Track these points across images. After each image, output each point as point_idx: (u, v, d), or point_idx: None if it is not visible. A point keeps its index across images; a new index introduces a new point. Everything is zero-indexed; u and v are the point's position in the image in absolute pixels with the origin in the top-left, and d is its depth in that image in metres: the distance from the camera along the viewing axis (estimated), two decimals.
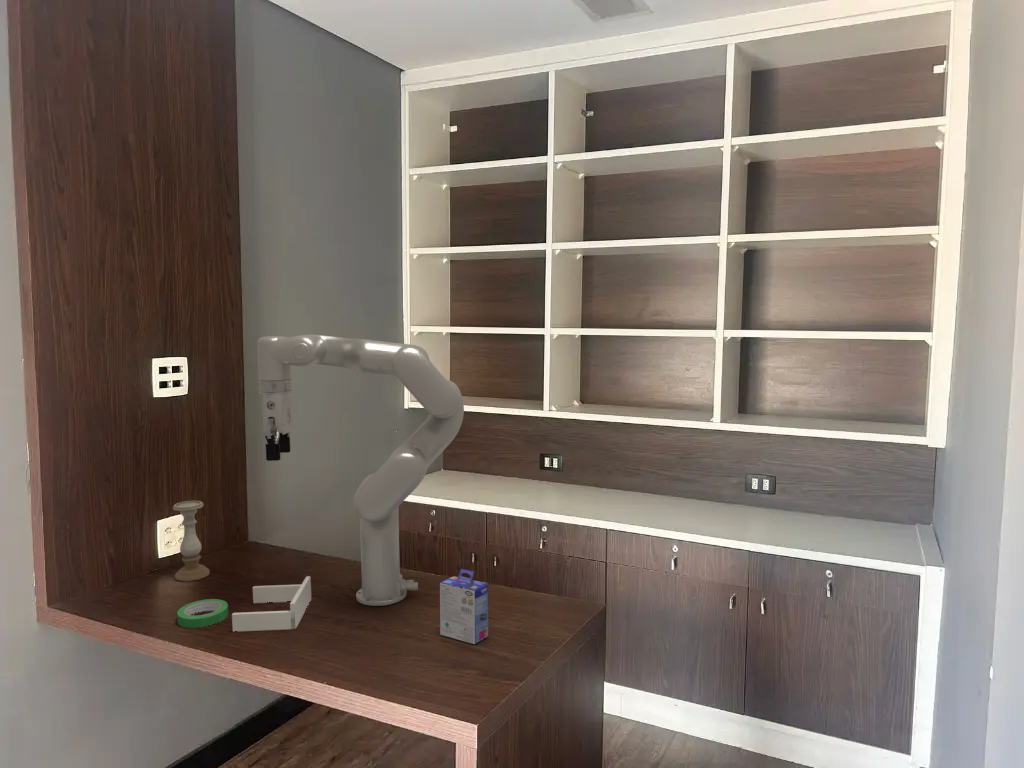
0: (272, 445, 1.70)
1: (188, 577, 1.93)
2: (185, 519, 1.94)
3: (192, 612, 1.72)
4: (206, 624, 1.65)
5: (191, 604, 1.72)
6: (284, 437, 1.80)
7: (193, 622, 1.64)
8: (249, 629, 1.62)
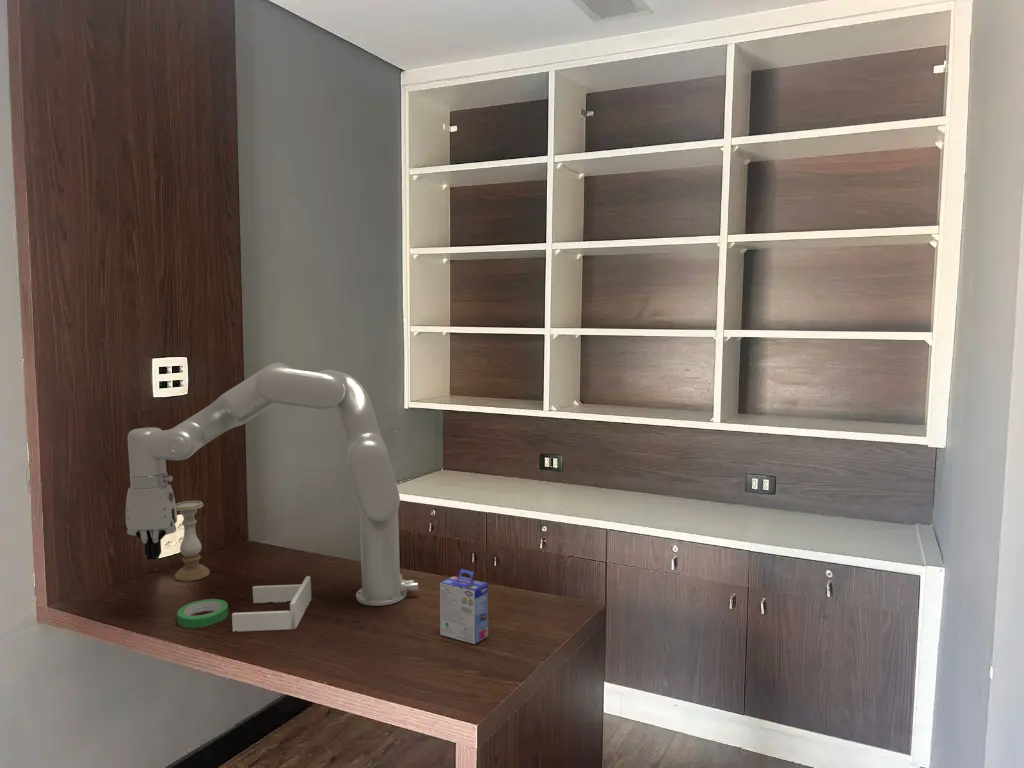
0: (159, 542, 1.68)
1: (188, 577, 1.93)
2: (185, 519, 1.94)
3: (192, 612, 1.72)
4: (206, 624, 1.65)
5: (191, 604, 1.72)
6: None
7: (193, 622, 1.64)
8: (249, 629, 1.62)
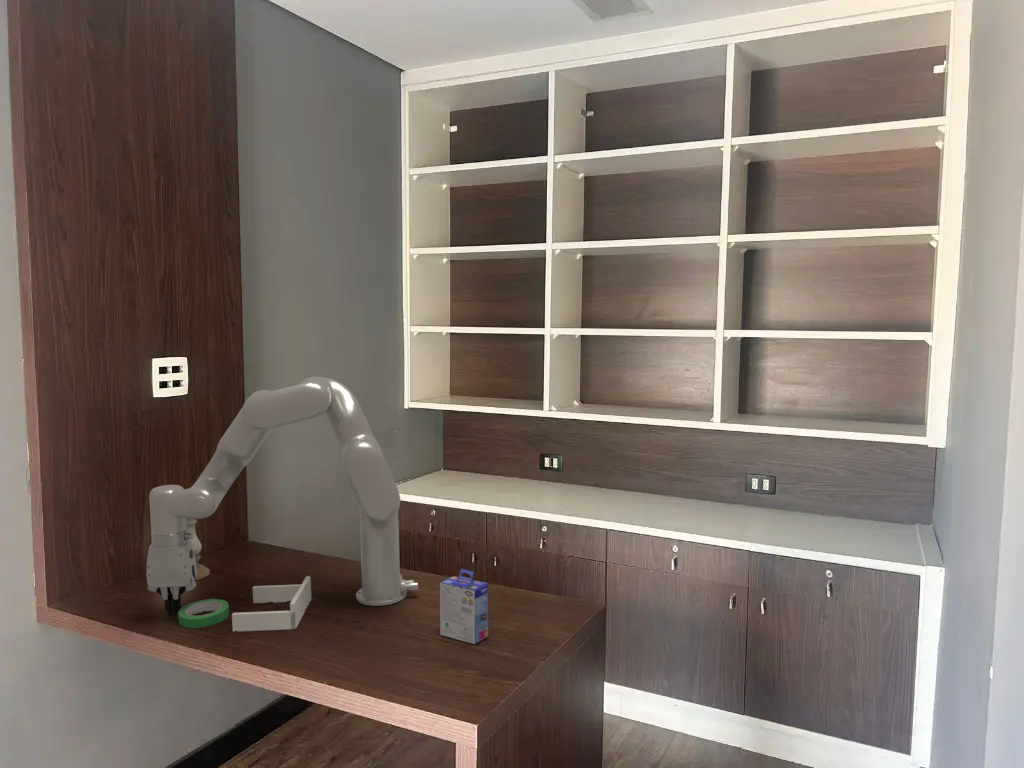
0: (179, 598, 1.69)
1: None
2: None
3: (193, 612, 1.72)
4: (207, 624, 1.65)
5: (192, 604, 1.72)
6: (172, 597, 1.69)
7: (194, 622, 1.64)
8: (249, 629, 1.62)
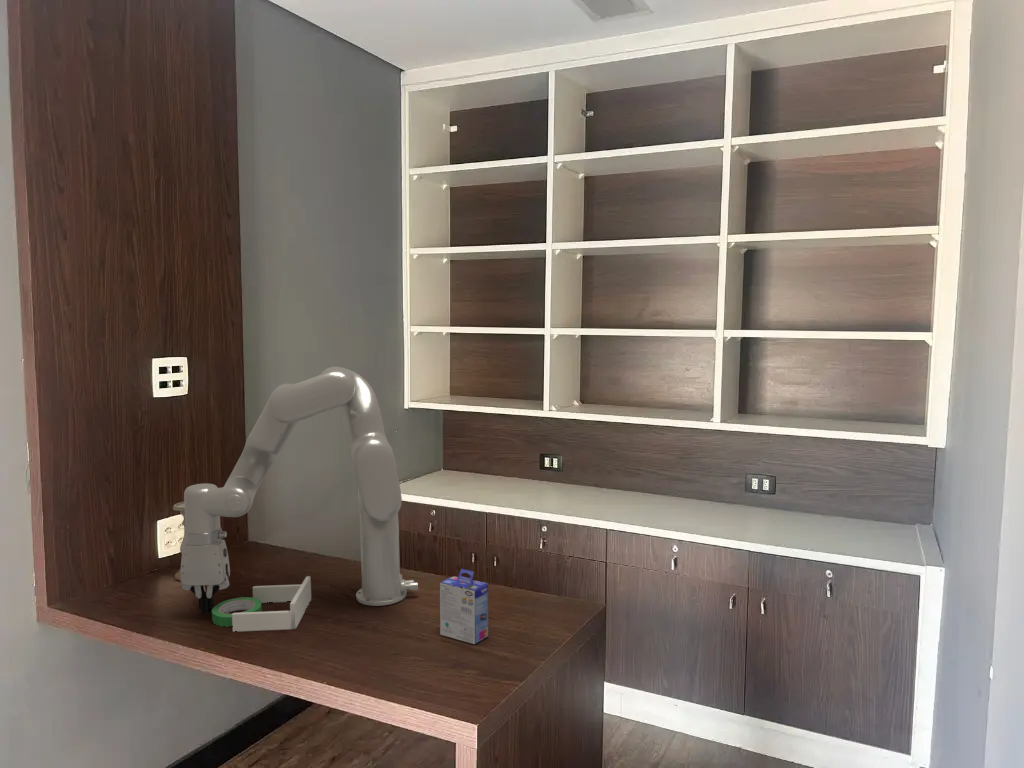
0: (212, 596, 1.70)
1: None
2: None
3: (226, 610, 1.72)
4: None
5: (225, 602, 1.72)
6: (205, 595, 1.70)
7: (228, 620, 1.65)
8: (249, 629, 1.62)
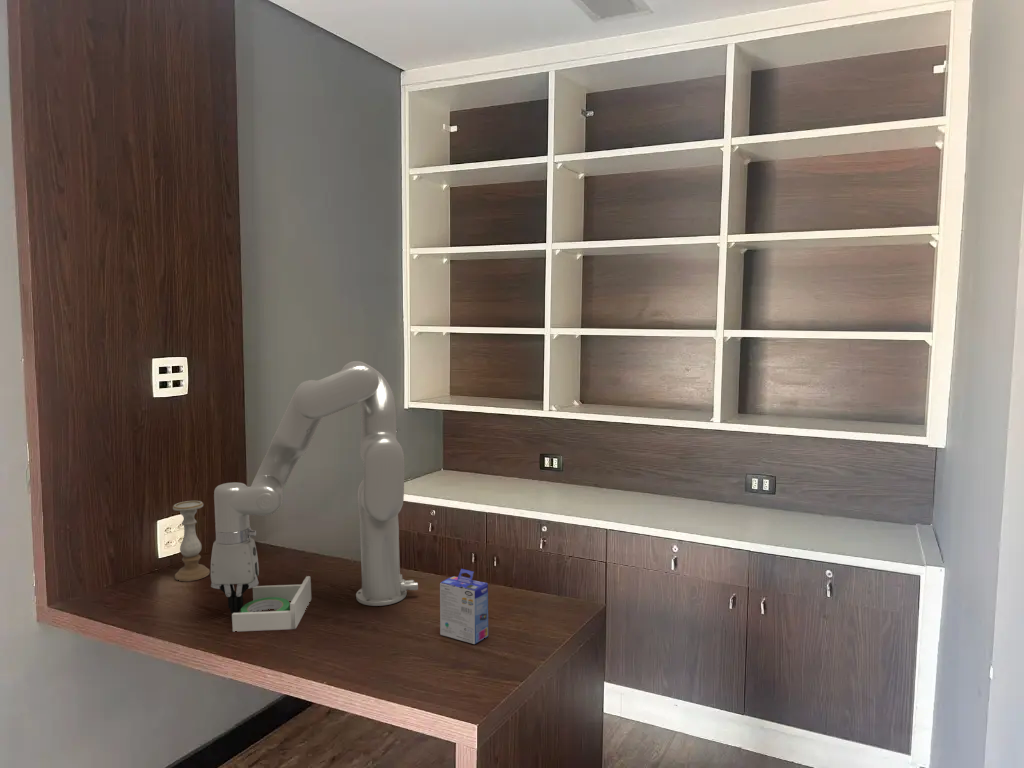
0: (242, 595, 1.70)
1: (188, 577, 1.93)
2: (185, 519, 1.94)
3: (254, 610, 1.72)
4: None
5: (253, 602, 1.73)
6: None
7: None
8: (249, 629, 1.62)
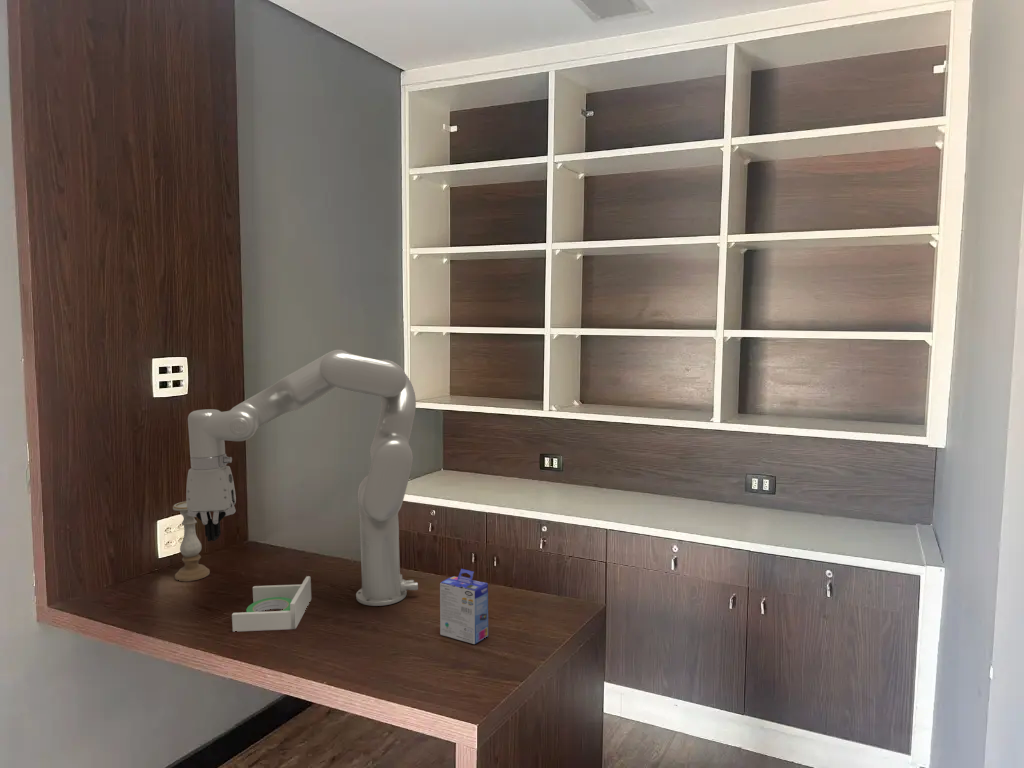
0: (219, 523, 1.68)
1: (188, 577, 1.93)
2: (185, 519, 1.94)
3: (260, 610, 1.72)
4: None
5: (259, 602, 1.73)
6: None
7: None
8: (249, 629, 1.62)
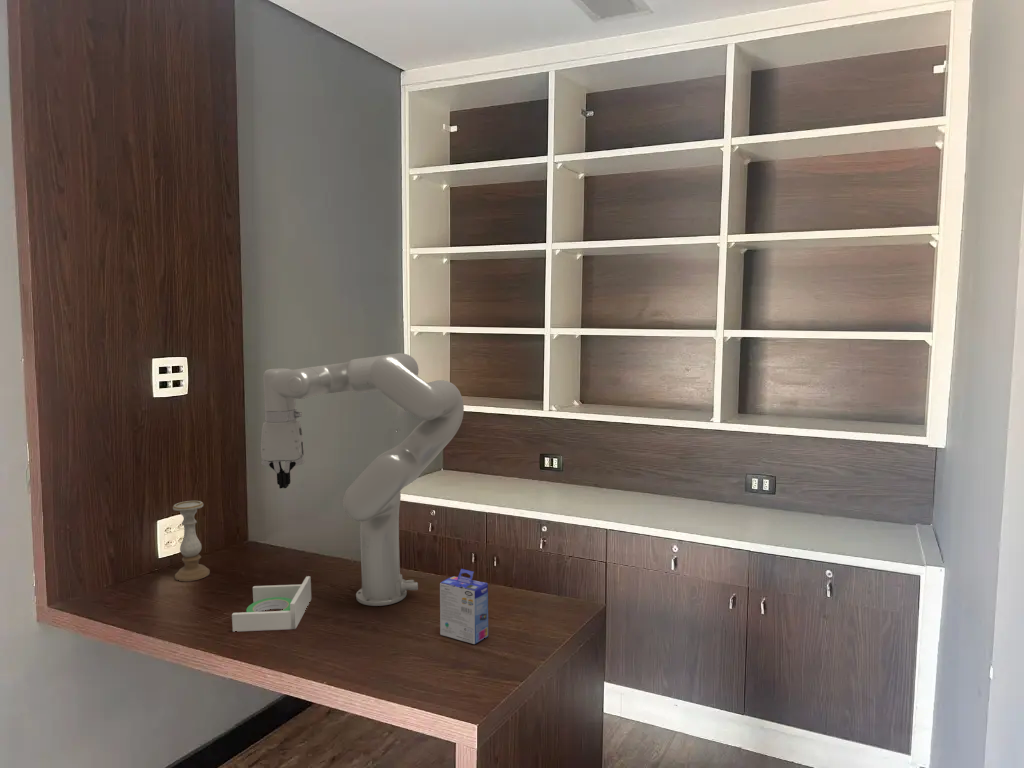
0: (289, 472, 1.85)
1: (188, 577, 1.93)
2: (185, 519, 1.94)
3: (260, 610, 1.72)
4: None
5: (259, 602, 1.73)
6: (283, 472, 1.85)
7: None
8: (249, 629, 1.62)
